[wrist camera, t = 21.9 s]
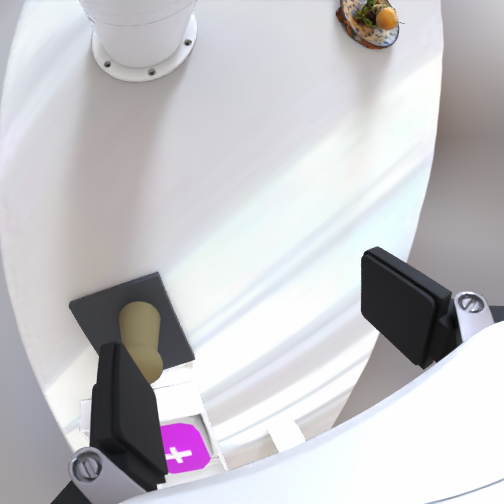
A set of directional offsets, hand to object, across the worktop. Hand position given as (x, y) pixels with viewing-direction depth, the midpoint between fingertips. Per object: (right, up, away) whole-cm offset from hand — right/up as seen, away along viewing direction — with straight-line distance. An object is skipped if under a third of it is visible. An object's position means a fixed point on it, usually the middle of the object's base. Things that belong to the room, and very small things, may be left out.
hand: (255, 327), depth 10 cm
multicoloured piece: (+18, +39, +22) cm, 48 cm away
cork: (-16, -7, +29) cm, 33 cm away
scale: (-18, -9, +30) cm, 36 cm away
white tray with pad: (-19, -38, +42) cm, 60 cm away
